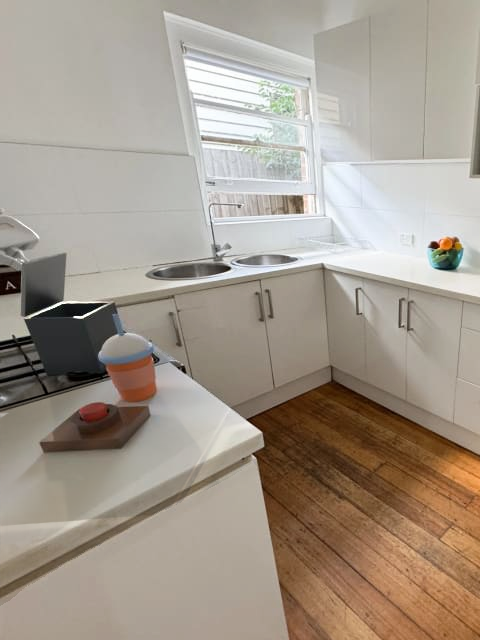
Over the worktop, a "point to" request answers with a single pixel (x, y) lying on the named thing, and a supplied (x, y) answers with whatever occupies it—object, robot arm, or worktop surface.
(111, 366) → the cup with straw
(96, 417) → the button
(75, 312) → the grey bin
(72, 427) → the block
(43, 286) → the box lid
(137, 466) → the worktop surface
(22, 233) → the robot arm
